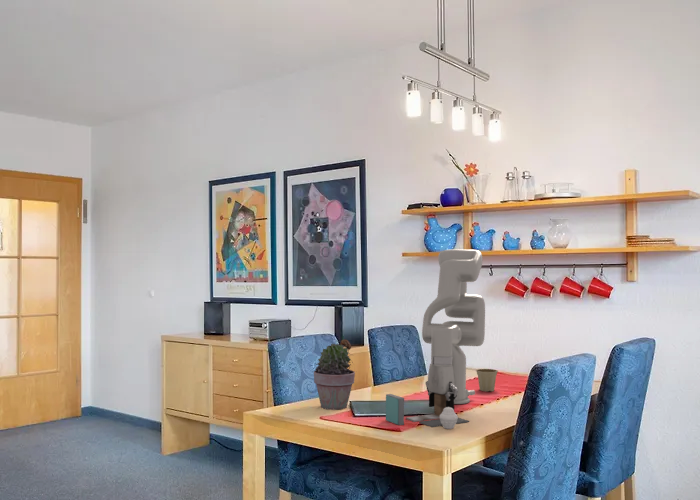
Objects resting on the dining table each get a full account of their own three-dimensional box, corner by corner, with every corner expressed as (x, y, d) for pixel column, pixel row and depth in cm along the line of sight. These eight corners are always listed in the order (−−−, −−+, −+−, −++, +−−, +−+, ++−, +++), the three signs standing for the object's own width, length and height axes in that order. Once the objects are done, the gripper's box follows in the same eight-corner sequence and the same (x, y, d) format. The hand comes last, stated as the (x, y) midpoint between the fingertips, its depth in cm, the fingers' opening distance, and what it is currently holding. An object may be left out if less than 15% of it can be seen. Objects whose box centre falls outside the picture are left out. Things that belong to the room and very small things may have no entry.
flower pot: (475, 392, 293) (475, 371, 293) (475, 388, 302) (475, 368, 302) (498, 392, 291) (498, 372, 292) (497, 388, 301) (497, 369, 301)
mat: (455, 417, 243) (455, 416, 243) (468, 422, 237) (468, 420, 237) (419, 422, 235) (419, 421, 235) (431, 427, 229) (431, 426, 229)
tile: (390, 419, 239) (390, 393, 239) (403, 424, 232) (404, 397, 232) (385, 420, 238) (385, 394, 238) (398, 425, 231) (398, 398, 231)
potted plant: (299, 410, 252) (300, 342, 253) (320, 400, 271) (321, 337, 271) (346, 414, 246) (346, 344, 246) (363, 404, 264) (364, 339, 265)
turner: (441, 414, 248) (441, 392, 248) (448, 417, 244) (449, 394, 244) (405, 419, 240) (406, 396, 240) (413, 421, 236) (413, 398, 237)
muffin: (445, 430, 224) (445, 409, 224) (435, 426, 230) (435, 405, 230) (461, 429, 227) (461, 407, 227) (451, 425, 232) (451, 404, 232)
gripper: (418, 358, 251) (418, 405, 251) (448, 364, 236) (448, 414, 236) (435, 357, 255) (434, 403, 255) (465, 363, 240) (465, 412, 240)
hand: (441, 409), depth 245 cm, fingers open, 9 cm apart
